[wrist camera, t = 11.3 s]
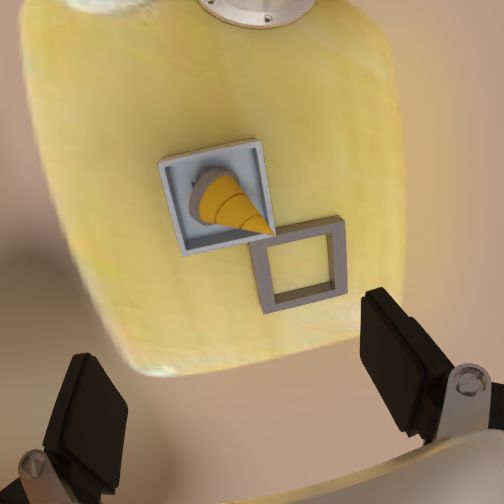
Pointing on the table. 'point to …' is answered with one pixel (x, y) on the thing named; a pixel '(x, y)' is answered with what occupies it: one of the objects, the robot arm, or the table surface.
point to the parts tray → (188, 166)
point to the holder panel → (309, 294)
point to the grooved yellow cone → (224, 202)
